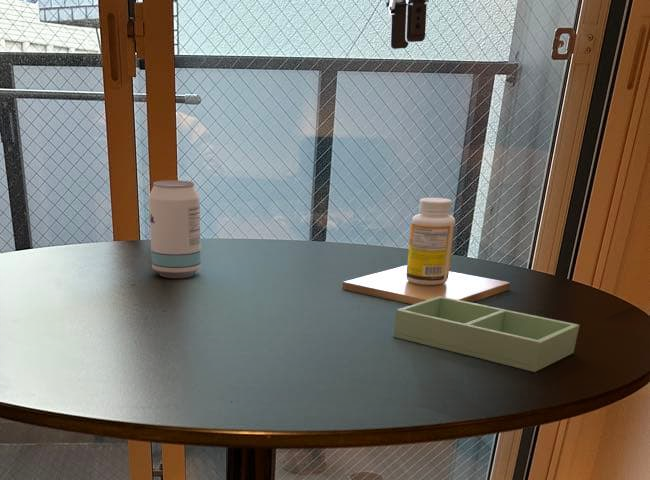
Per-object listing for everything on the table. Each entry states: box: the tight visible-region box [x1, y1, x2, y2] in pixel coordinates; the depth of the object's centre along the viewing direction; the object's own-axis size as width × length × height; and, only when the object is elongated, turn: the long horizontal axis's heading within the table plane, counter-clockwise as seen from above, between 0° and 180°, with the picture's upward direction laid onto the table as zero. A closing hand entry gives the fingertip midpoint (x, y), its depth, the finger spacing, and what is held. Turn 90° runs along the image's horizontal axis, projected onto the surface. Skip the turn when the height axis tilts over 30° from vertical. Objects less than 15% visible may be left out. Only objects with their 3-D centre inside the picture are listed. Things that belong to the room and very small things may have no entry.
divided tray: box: [393, 296, 580, 373], centre depth 86 cm, size 9×17×3 cm, turn 46°
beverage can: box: [148, 180, 202, 279], centre depth 111 cm, size 7×7×12 cm
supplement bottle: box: [406, 197, 456, 285], centre depth 105 cm, size 6×6×10 cm
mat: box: [341, 264, 511, 305], centre depth 108 cm, size 16×16×1 cm
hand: (406, 45), depth 99 cm, fingers open, 8 cm apart
